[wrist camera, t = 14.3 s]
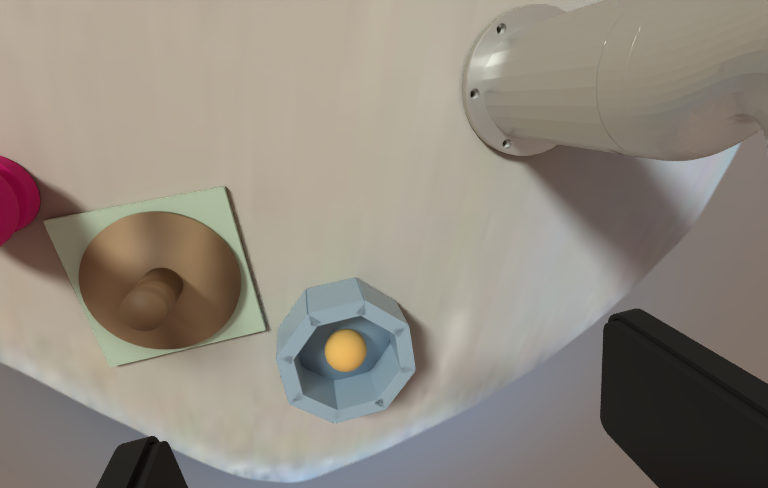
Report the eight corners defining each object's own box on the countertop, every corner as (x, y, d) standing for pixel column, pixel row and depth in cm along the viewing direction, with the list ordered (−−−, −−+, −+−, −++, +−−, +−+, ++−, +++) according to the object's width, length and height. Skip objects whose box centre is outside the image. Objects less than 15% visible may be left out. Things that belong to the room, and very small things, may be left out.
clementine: (359, 317, 41) (366, 338, 38) (366, 350, 43) (373, 374, 39) (319, 326, 41) (322, 349, 37) (327, 360, 42) (331, 385, 38)
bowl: (391, 269, 41) (403, 290, 36) (407, 369, 45) (420, 400, 41) (268, 297, 39) (265, 323, 35) (297, 398, 43) (297, 433, 39)
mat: (224, 186, 35) (223, 187, 35) (265, 327, 40) (265, 330, 40) (46, 219, 33) (42, 221, 33) (112, 363, 38) (109, 367, 38)
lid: (219, 198, 35) (206, 215, 30) (256, 327, 39) (250, 362, 34) (57, 227, 33) (12, 250, 28) (114, 359, 38) (84, 401, 32)
